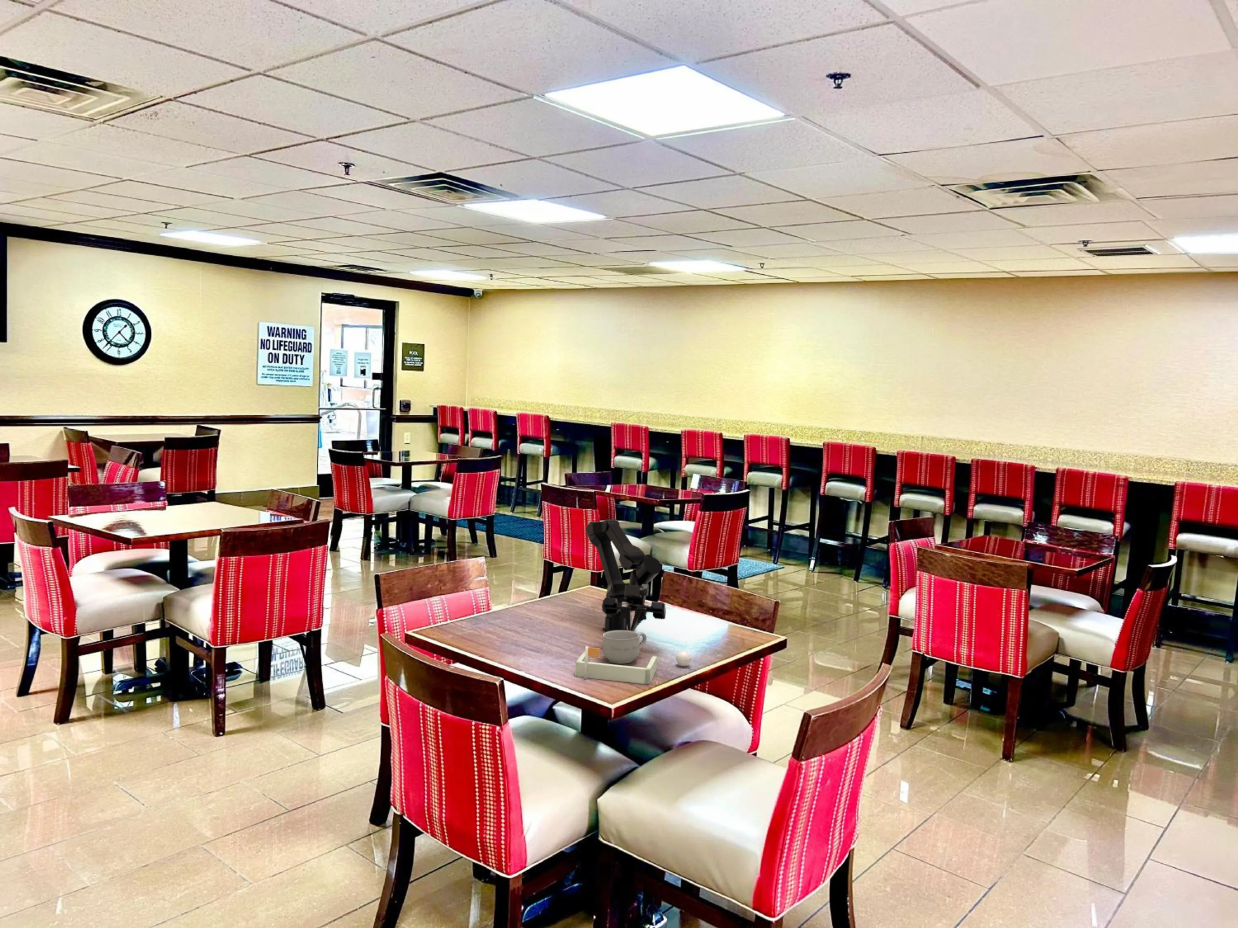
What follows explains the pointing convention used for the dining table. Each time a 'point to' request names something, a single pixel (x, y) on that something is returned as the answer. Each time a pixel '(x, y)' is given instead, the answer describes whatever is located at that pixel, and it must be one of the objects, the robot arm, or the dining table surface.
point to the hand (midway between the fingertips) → (630, 632)
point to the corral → (613, 669)
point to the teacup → (622, 645)
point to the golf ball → (683, 658)
